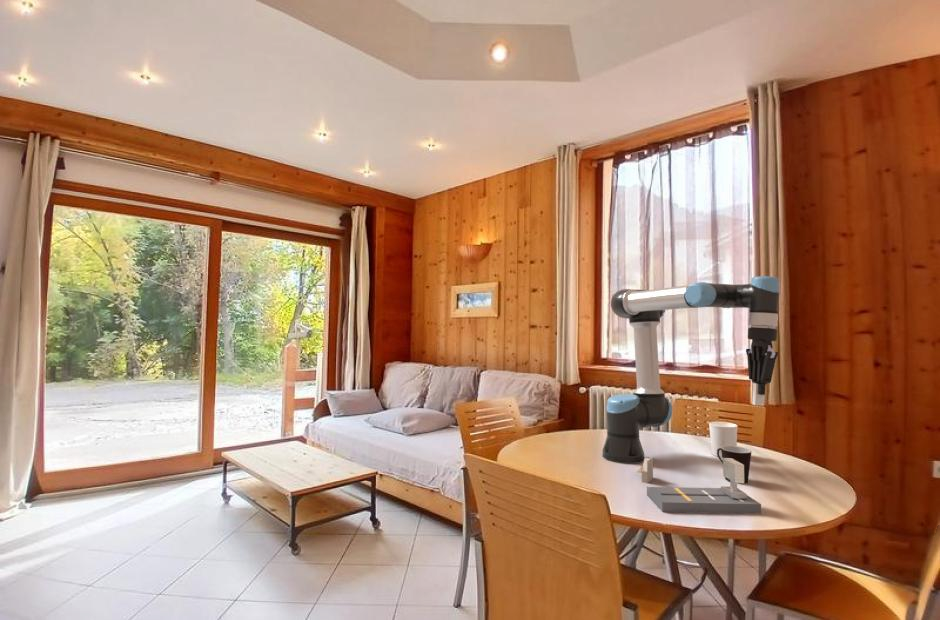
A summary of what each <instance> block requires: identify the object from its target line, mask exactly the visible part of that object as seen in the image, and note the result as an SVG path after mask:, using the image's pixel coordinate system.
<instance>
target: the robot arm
mask: <svg viewBox="0 0 940 620" xmlns="http://www.w3.org/2000/svg"><path fill="white" fill-rule="evenodd" d="M780 283H781V282H780V279H779V278H778V277H776V276H766V275H764V276H763V275H760V276H753V277H751V280H750V283H748V284H732V283H730V284H729V283H728V284H727V283H712V282H711V283H710V282H705V281H704V282H701V281H700V282H693V283H691V284H686V285H679V286H672V287H663V288H662V287H661V288H655V289H653V288H652V289H631V288H623V289H621V290H618V291H615V293H614V294H613V295H612V297H611V300H610V307H611V311H612V312H613V313H614V314H615V315H616V316H618V317H619V318H622V319H628V321H629V325H630V326H631V327H632V328H633V340H634V357H635V358H634V360H635V375H636V376H635V377H636V389H634V390H633V392H632V393H633V394H630V393H624V394H623V393H622V394H621V393H620V394H614V395H611V396H610V397H609V398H607V401H606V434H607V435H606V439H605V442H604V444H603V448H602V457H603V459H605V460H608V461H610V462H615V463H620V464H621V463H622V464H637V463H642V462H644V459H645V451H644V448H643V446H642V443H641V440H640V429H645V428H646V429H647V428H657V427H661V426H664V425H666V424H668V422H669V421H670V420H671V419H672V417H673V406H672V403H671V401H670V399H669V398H667V397H666V395H665V394H666V393H665V391H664V390H663V389H662V388H661V381H660V380H661V378H660V366H659V365H660V364H659V348H658V347H659V346H658V334H657V333H658V331H657V328H658V326H659V324H660V323H661V318H662V317H663V316H664V314H665V312H666V311H668V310H680V309H681V310H682V309H696V308H698V309H699V308H722V309H739V308H740V309H743V308H745V309H748V311H749V312H748V323H747V324H748V326H750V327H748V328H747V339H748V340H752V341H751V345H750V348H746V349H745V352H746V356H747V370H748V379H749V380H750V381H751V382H752V383H753V385H752V387H753V388H752V404H751V405H753V406H762V407H764V406H765V399H766V398H765V397H766V386H767V384H771V383H772V378H773V374H774V369H775V363H776V360H777V357H778V355H779V352H778V351H774V348H773V342H777V340H778V330H777V327H778V324H779V323H778V322H779V303H780V294H781V290H780V287H781V285H780Z"/></svg>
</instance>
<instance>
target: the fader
mask: <svg viewBox="0 0 940 620" xmlns="http://www.w3.org/2000/svg"><path fill="white" fill-rule="evenodd" d="M722 461H723V463H722V467H723V469H722V471H723V472H722V474H723V477H724V478H725V477H726V478H728V479H729V480H730V483H729V484H730V485H729V486H724V485H723V486H720V488H721V491H722V492H724V493H725V494H727V495H728V496H729V497H731V498H736V499H747V495H748V494H747V493H746V492H744V491H743V490H741V489H739V488H738V483H744V465H743V464H741V463H740V462H738V461H736V460H734V459H732V458H723V459H722Z"/></svg>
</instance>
